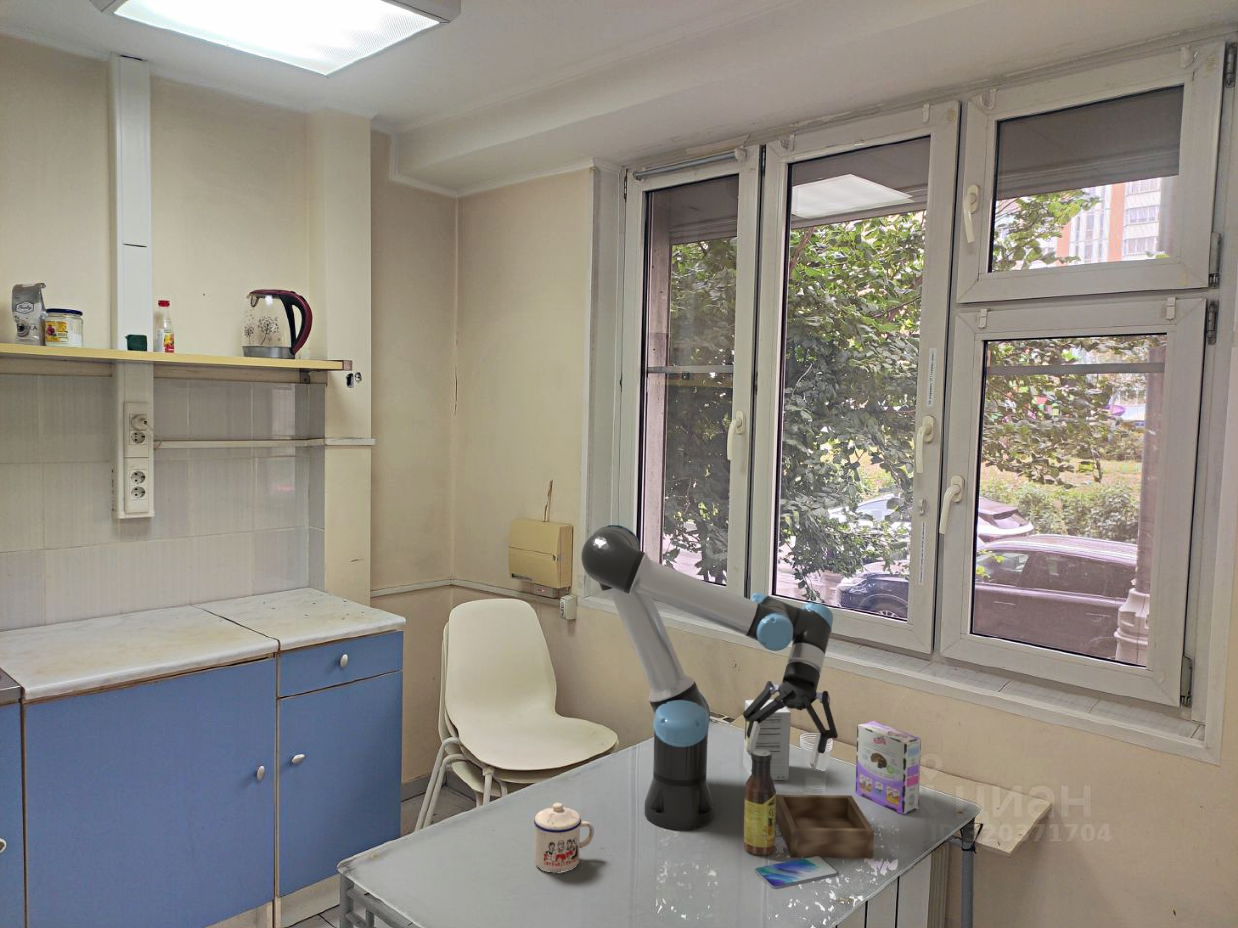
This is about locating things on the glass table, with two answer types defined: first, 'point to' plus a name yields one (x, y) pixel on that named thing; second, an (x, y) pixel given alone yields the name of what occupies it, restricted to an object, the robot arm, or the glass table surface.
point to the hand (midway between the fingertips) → (780, 759)
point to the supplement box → (772, 742)
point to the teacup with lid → (559, 838)
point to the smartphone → (796, 872)
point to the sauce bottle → (760, 806)
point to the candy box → (888, 766)
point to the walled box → (824, 826)
